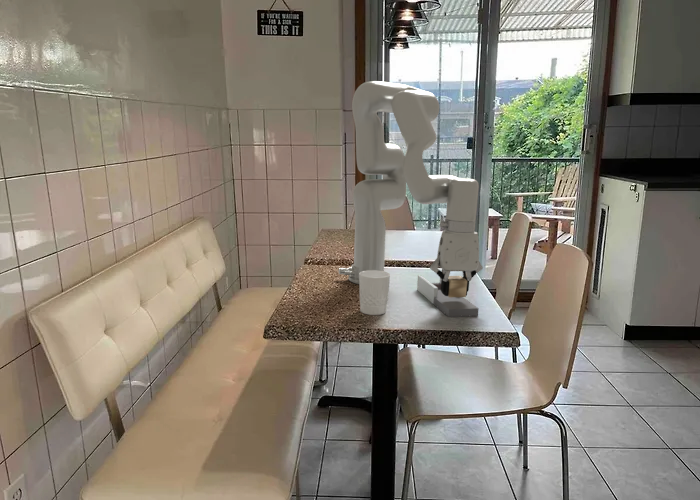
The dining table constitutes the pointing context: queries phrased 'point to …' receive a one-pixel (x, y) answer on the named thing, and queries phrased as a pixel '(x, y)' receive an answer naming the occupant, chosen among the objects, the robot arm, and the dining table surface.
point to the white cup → (373, 291)
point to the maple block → (457, 286)
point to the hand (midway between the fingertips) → (454, 293)
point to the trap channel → (445, 299)
